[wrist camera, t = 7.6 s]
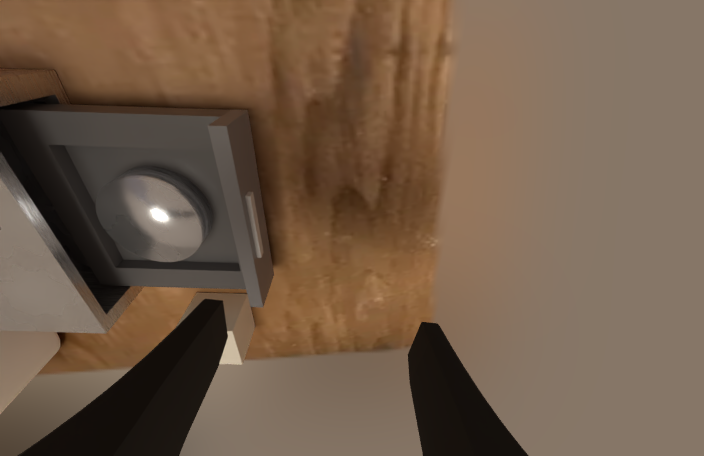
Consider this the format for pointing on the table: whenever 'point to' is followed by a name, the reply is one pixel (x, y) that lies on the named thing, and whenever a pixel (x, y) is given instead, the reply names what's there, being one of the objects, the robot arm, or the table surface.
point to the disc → (155, 214)
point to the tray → (158, 151)
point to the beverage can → (23, 360)
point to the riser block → (231, 323)
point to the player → (44, 238)
